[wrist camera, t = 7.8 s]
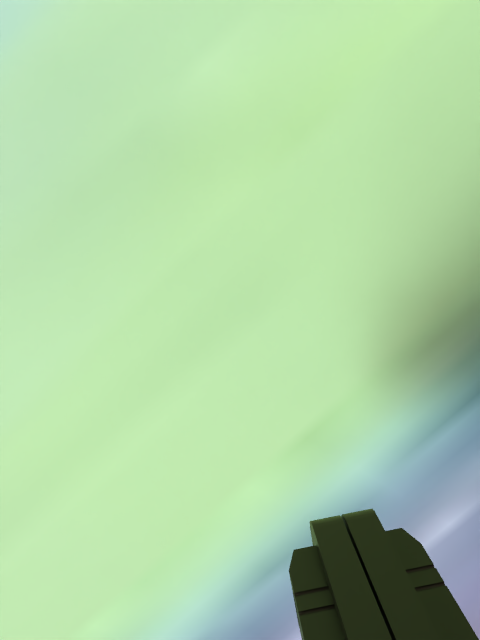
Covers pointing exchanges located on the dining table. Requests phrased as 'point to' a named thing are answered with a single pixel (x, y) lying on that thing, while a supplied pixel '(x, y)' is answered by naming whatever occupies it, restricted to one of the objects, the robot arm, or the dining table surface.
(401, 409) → the dining table surface
